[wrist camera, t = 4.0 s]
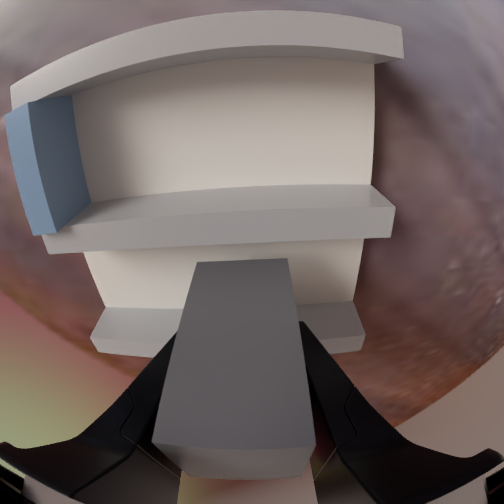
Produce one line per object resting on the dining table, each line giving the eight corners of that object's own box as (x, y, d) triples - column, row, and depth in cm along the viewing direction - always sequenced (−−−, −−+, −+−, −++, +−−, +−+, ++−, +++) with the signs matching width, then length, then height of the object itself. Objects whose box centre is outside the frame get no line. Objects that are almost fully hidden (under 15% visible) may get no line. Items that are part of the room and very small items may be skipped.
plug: (287, 258, 10) (315, 445, 5) (285, 322, 12) (300, 477, 6) (197, 262, 11) (151, 442, 5) (210, 324, 12) (189, 476, 6)
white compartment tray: (363, 41, 8) (408, 24, 5) (344, 305, 16) (363, 357, 12) (58, 80, 9) (2, 87, 6) (117, 310, 16) (95, 358, 13)
